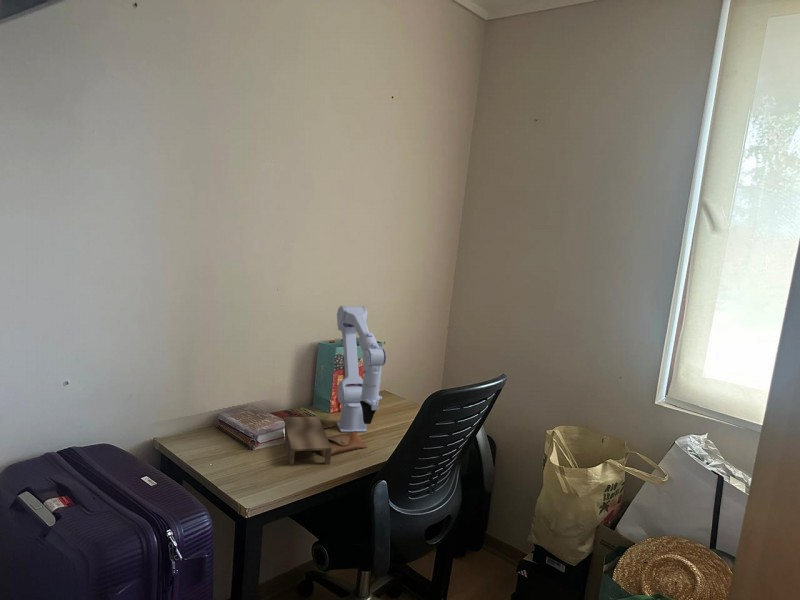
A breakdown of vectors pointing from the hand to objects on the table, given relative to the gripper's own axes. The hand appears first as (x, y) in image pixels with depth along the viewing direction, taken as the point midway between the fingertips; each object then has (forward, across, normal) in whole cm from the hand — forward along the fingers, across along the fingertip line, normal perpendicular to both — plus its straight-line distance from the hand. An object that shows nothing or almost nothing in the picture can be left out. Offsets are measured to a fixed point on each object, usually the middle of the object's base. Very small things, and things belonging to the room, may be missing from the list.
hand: (367, 423), depth 182 cm
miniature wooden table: (+8, 0, +20) cm, 22 cm away
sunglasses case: (+9, -1, +9) cm, 12 cm away
